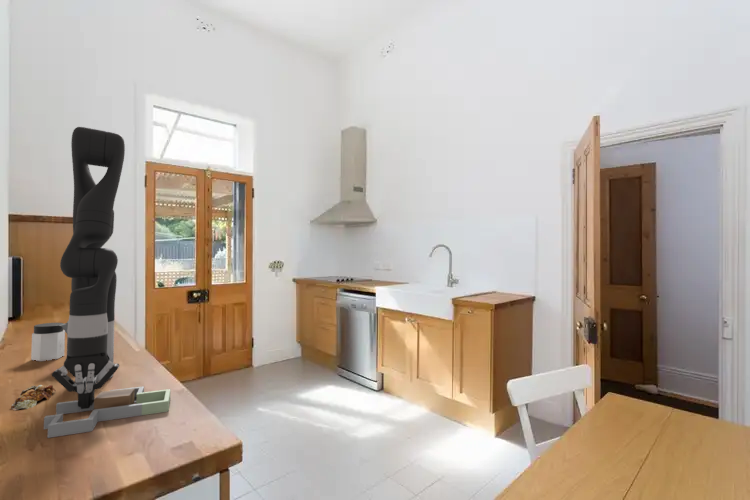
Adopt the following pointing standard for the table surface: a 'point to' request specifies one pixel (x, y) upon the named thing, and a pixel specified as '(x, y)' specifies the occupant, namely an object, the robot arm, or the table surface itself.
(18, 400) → the pastry
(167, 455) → the table surface
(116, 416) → the track
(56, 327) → the jar
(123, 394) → the block
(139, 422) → the table surface
